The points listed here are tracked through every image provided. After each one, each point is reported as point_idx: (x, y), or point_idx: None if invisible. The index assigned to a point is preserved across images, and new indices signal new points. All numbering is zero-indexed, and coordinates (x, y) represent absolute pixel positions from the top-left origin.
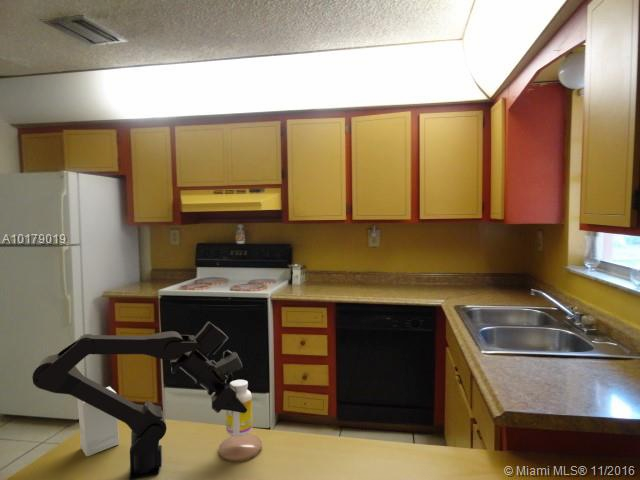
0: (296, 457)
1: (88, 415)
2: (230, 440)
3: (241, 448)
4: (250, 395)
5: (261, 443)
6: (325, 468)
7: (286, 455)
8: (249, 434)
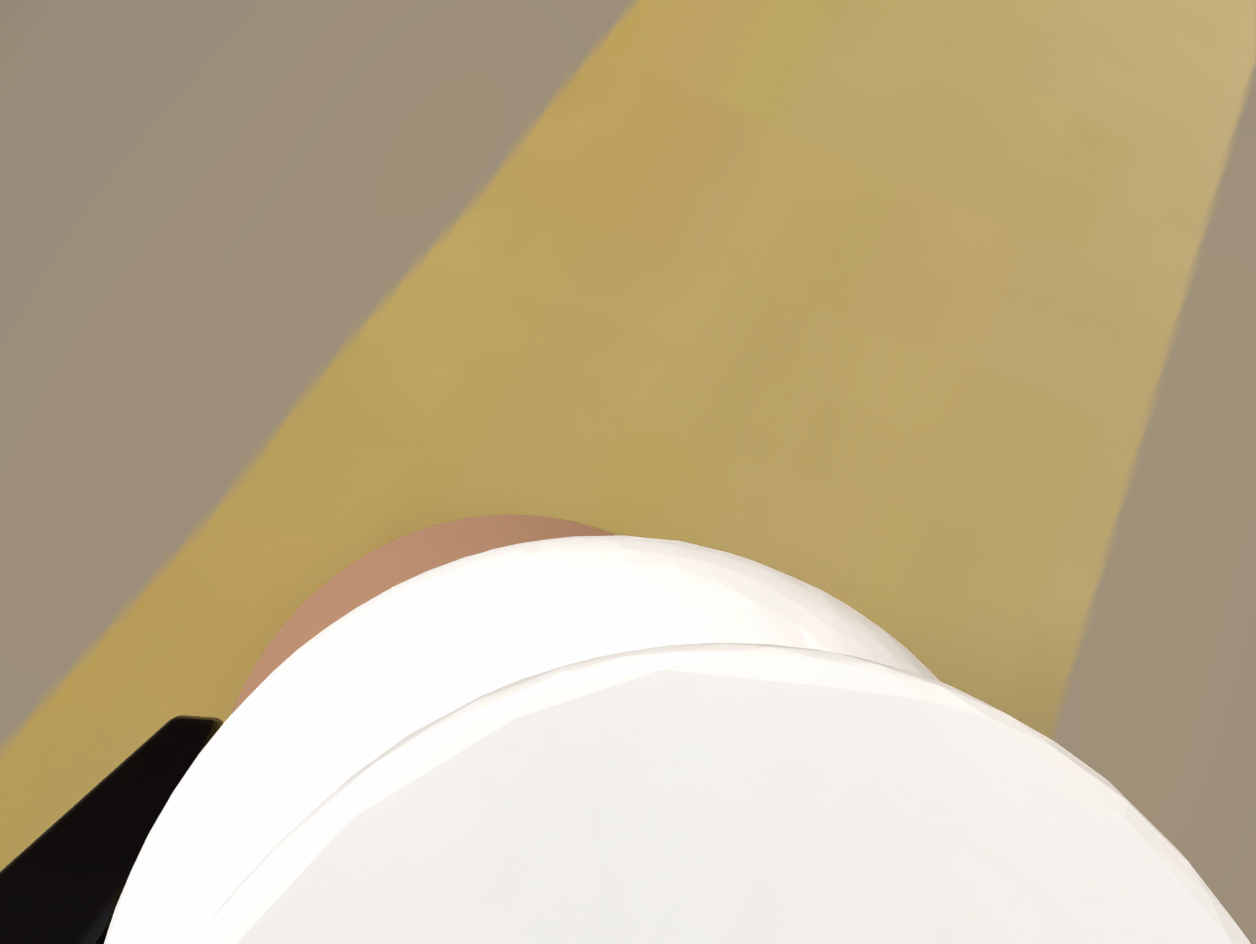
0: (913, 260)
1: None
2: None
3: None
4: (855, 612)
5: (601, 530)
6: (1155, 106)
7: (844, 335)
8: (302, 623)
